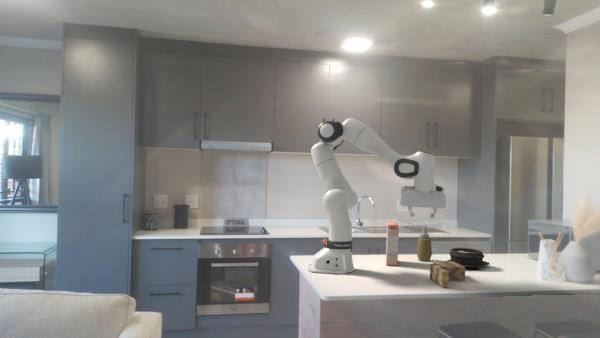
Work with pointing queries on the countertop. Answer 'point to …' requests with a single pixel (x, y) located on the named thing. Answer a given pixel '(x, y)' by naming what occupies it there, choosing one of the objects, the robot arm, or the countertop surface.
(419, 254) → the squeeze bottle
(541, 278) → the countertop surface
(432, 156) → the robot arm
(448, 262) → the stool seat
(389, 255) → the cracker box
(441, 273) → the stool leg
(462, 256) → the casserole
